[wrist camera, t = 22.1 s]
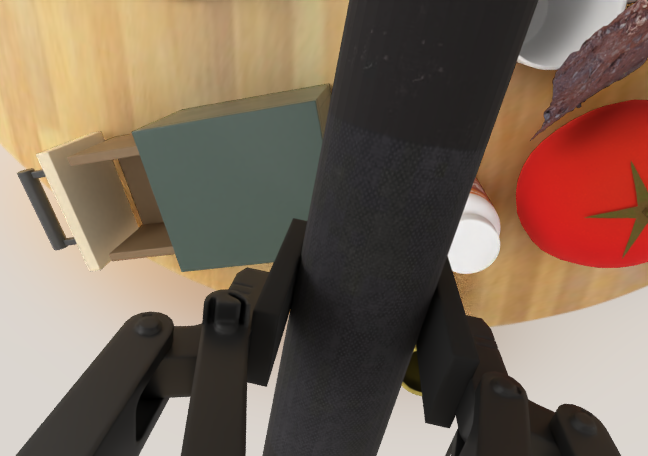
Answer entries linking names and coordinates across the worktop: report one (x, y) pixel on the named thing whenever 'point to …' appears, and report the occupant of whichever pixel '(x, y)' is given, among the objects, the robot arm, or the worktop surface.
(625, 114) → the tomato
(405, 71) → the suppressor
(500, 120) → the worktop surface
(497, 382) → the robot arm
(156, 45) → the worktop surface
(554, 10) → the mug
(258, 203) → the cabinet
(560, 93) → the rock
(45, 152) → the drawer
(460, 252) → the pill bottle
